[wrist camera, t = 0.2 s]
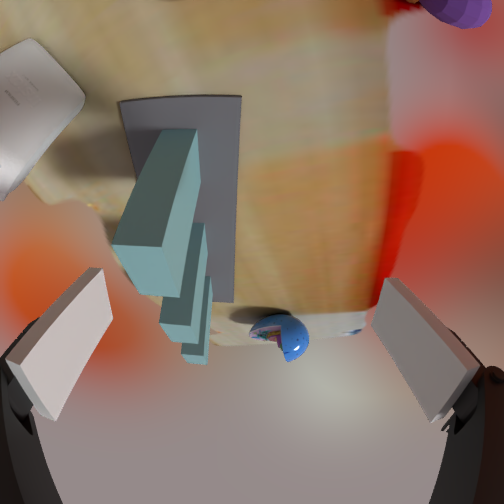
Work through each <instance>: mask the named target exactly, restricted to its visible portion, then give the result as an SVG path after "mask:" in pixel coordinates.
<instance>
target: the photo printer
mask: <svg viewBox="0 0 504 504" xmlns="http://www.w3.org/2000/svg"><path fill="white" fill-rule="evenodd" d="M85 98H86V97H85V94H84V93H83V91H82V90H81V89H80V87H79V86H78V85H77V84H76V83H75V81H74V80H73V79H72V78H71V77H70V76H69V75H68V73H67V72H66V71H65V70H64V69H63V68H62V67H61V66H60V65H59V64H58V63H57V62H56V60H55V59H54V58H53V57H52V56H51V55H50V54H49V53H48V52H47V51H46V50H45V49H44V48H43V47H42V46H41V45H40V44H39V43H38V42H36V41H35V40H33V39H31V38H29V39H26V40H24V41H22V42H20V43H18V44H16V45H14V46H12V47H11V48H9V49H7V50H5V51H4V52H2V53H0V201H4V200H5V198H6V197H7V195H8V194H9V193H10V192H12V191H13V190H15V189H16V188H17V187H18V186H19V184H20V183H21V182H22V181H23V180H24V179H25V178H26V176H27V175H28V174H29V172H30V171H31V169H32V168H33V167H34V165H35V164H36V162H37V161H38V160H39V159H40V157H41V156H42V155H43V153H44V152H45V151H46V150H47V148H48V147H49V146H50V145H51V143H52V142H53V141H54V140H55V139H56V137H57V136H58V135H59V134H60V133H61V132H62V131H63V129H64V128H65V127H66V126H67V125H68V124H69V123H70V122H71V121H72V119H73V118H74V117H75V116H76V115H77V114H78V113H79V112H80V111H81V109H82V108H83V105H84V102H85Z"/></svg>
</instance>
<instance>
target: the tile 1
mask: <svg viewBox="0 0 504 504" xmlns="http://www.w3.org/2000/svg"><path fill="white" fill-rule="evenodd" d="M200 184H201V178H200V165H199V151H198V135H197V129H169V130H162V132H161V133H160V135H159V137H158V139H157V141H156V143H155V145H154V147H153V149H152V151H151V153H150V155H149V157H148V159H147V161H146V163H145V165H144V167H143V169H142V171H141V173H140V175H139V177H138V180H137V182H136V184H135V186H134V189H133V191H132V193H131V195H130V198H129V200H128V203H127V205H126V207H125V210H124V212H123V215H122V217H121V220H120V222H119V225H118V228H117V230H116V233H115V236H114V238H113V241H112V244H111V245H112V247H113V249H114V251H115V253H116V254H117V256H118V258H119V260H120V262H121V263H122V265H123V267H124V268H125V270H126V272H127V274H128V275H129V277H130V279H131V280H132V282H133V284H134V285H135V287H136V289H137V290H138V292H139V293H140V294H143V295H154V296H165V297H178V298H180V291H181V285H182V278H183V272H184V266H185V260H186V255H187V249H188V243H189V238H190V233H191V227H192V222H193V217H194V212H195V207H196V203H197V198H198V193H199V189H200Z"/></svg>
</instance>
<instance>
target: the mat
mask: <svg viewBox="0 0 504 504" xmlns="http://www.w3.org/2000/svg"><path fill="white" fill-rule="evenodd" d="M241 98H242V96H235V95H185V96H166V97H153V98H142V99H133V100H125V101H121V102H120V108H121V113H122V118H123V123H124V127H125V132H126V136H127V140H128V145H129V149H130V153H131V157H132V161H133V165H134V168H135V172H136V176H137V180H138V177H139V175H140V173H141V171H142V169H143V167H144V165H145V163H146V161H147V159H148V157H149V155H150V153H151V151H152V149H153V147H154V145H155V143H156V141H157V139H158V137H159V135H160V133H161V132H162V130H169V129H197V135H198V151H199V165H200V178H201V184H200V189H199V193H198V198H197V203H196V207H195V212H194V217H193V222H192V223H205V233H206V242H207V251H208V256H207V264H206V272H205V276H209V277H211V285H212V292H213V297H212V302H227V303H234V265H235V232H236V204H237V179H238V156H239V136H240V116H241Z"/></svg>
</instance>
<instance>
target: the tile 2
mask: <svg viewBox="0 0 504 504" xmlns="http://www.w3.org/2000/svg"><path fill="white" fill-rule="evenodd" d="M207 256H208V251H207V242H206V233H205V223H192V227H191V233H190V238H189V243H188V249H187V255H186V260H185V266H184V272H183V278H182V285H181V291H180V298H178V297H165V296H163V301H162V307H161V313H160V320H159V324H160V325H161V327H162V328H163V330H164V331H165V332H166V334H167V335H168V337H169V338H170V340H171V341H172V342H182V343H193V344H198V341H199V330H200V319H201V309H202V299H203V290H204V281H205V272H206V264H207Z"/></svg>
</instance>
